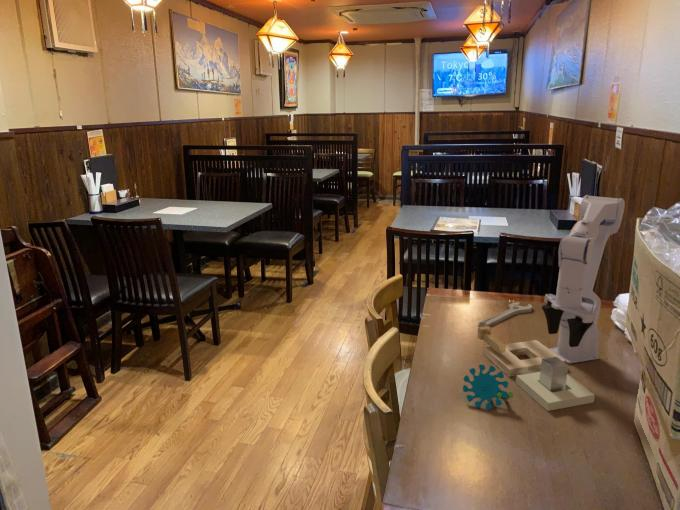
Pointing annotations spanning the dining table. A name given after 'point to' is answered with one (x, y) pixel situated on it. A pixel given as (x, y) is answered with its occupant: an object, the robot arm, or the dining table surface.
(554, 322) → the robot arm
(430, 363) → the dining table surface
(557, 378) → the peg
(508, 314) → the adjustable wrench
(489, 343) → the tan headed bar
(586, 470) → the dining table surface
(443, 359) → the dining table surface
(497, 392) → the teal virus model
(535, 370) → the socket block
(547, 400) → the cream square hole plate
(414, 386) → the dining table surface
